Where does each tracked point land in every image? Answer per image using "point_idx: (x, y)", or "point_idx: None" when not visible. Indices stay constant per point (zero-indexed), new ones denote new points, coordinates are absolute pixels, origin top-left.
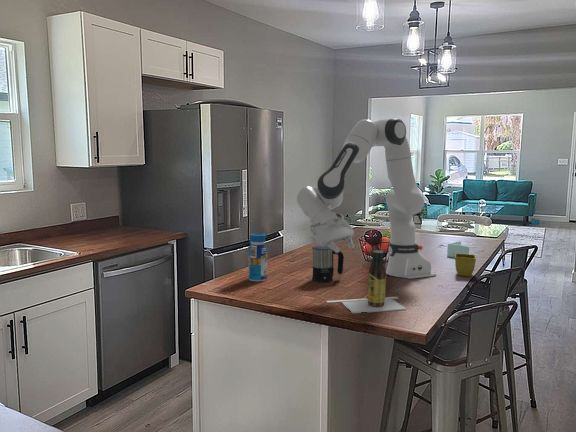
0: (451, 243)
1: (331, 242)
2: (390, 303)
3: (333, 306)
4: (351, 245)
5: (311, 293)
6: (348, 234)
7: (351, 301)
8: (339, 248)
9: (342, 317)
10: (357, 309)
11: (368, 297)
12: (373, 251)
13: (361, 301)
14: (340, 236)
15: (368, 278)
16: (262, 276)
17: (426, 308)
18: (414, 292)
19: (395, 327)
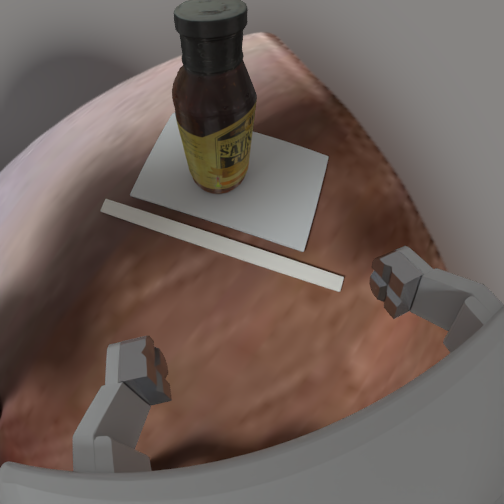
0: None
1: (489, 297)
2: (170, 161)
3: (344, 237)
4: (149, 356)
5: (325, 400)
6: (96, 485)
7: (260, 249)
8: (391, 263)
9: (365, 152)
10: (301, 166)
11: (248, 162)
12: (237, 10)
13: (236, 221)
14: (351, 433)
15: (250, 125)
16: None
17: (125, 107)
18: (34, 228)
19: (289, 61)
